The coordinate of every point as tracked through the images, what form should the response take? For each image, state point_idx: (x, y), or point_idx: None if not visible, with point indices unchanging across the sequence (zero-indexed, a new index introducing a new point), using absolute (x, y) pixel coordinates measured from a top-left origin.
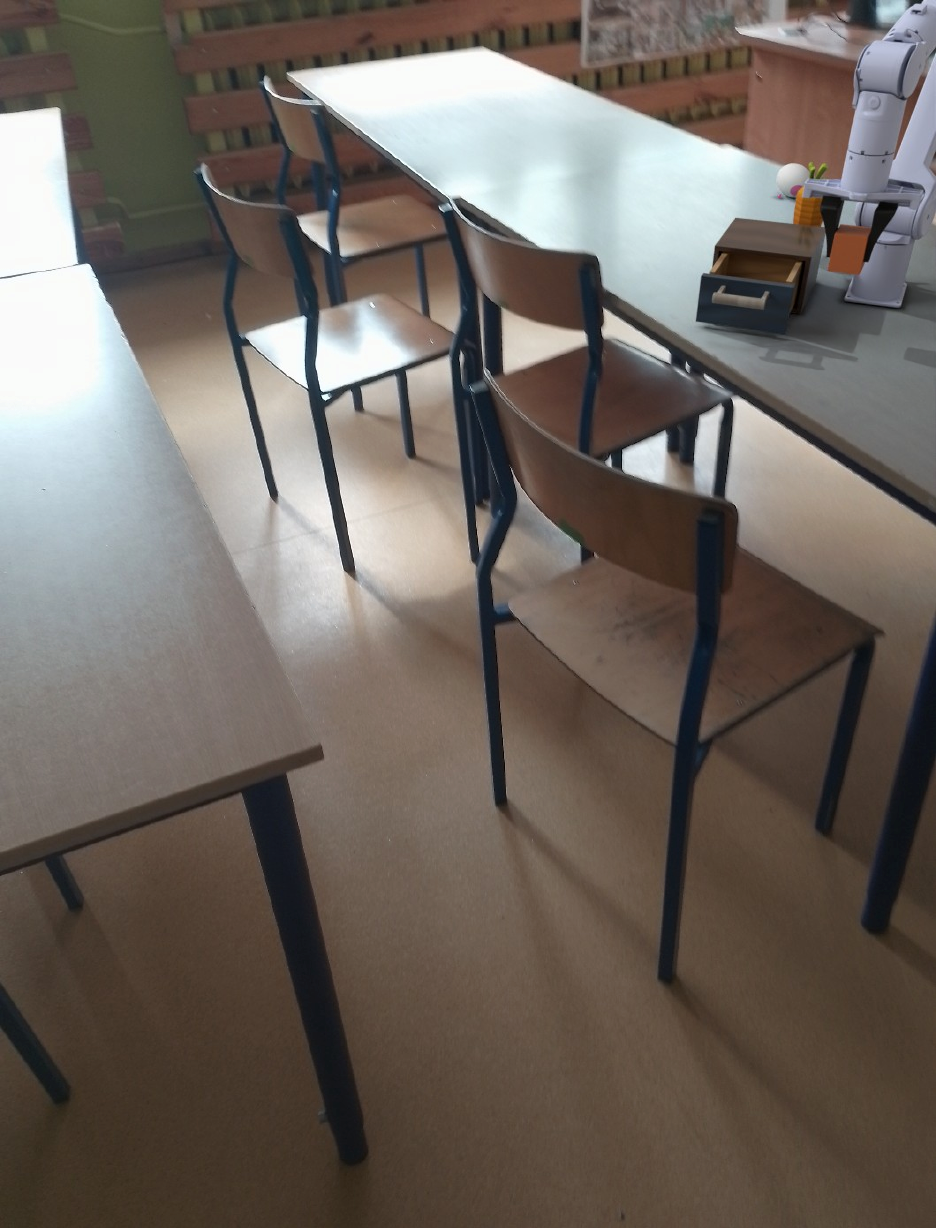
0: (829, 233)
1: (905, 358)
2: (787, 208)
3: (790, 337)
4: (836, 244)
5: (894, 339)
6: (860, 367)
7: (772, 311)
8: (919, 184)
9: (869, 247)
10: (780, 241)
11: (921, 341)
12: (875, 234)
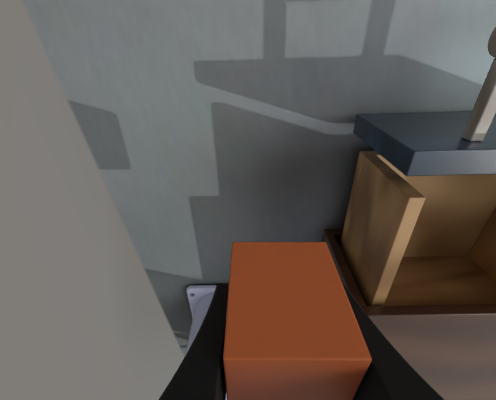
0: (390, 361)
1: (114, 119)
2: None
3: (337, 133)
4: (340, 316)
5: (161, 191)
6: (177, 30)
7: (417, 125)
8: None
9: (214, 325)
10: (422, 358)
11: (120, 198)
12: (192, 381)
